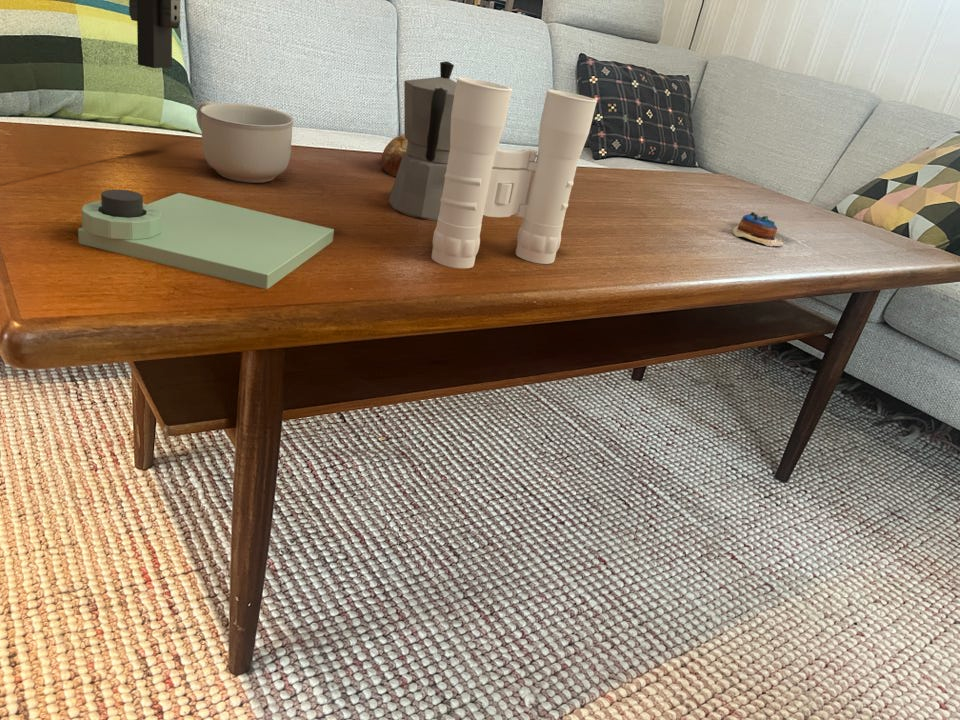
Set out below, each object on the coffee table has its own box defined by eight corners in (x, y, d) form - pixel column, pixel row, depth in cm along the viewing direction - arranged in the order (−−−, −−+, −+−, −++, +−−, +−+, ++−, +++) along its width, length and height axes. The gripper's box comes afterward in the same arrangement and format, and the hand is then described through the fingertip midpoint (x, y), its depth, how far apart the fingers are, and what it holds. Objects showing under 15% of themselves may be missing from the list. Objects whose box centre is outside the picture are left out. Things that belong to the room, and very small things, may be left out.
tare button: (93, 214, 62) (92, 194, 61) (116, 206, 65) (116, 187, 64) (128, 222, 62) (128, 202, 61) (150, 214, 64) (150, 195, 64)
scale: (67, 244, 62) (65, 210, 60) (173, 204, 77) (174, 176, 75) (264, 292, 60) (266, 258, 59) (332, 242, 75) (335, 214, 74)
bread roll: (417, 189, 118) (407, 139, 117) (467, 178, 112) (457, 125, 110) (375, 194, 110) (364, 140, 109) (426, 182, 104) (415, 125, 103)
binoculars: (537, 248, 88) (573, 92, 80) (567, 264, 84) (607, 102, 77) (417, 253, 77) (445, 75, 70) (446, 271, 74) (479, 85, 66)
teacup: (305, 187, 93) (311, 123, 89) (227, 190, 85) (230, 120, 81) (246, 158, 100) (249, 98, 97) (170, 159, 93) (170, 93, 89)
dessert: (724, 228, 115) (745, 198, 115) (728, 247, 121) (749, 218, 121) (770, 248, 111) (792, 217, 111) (772, 267, 117) (793, 237, 117)
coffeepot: (393, 191, 99) (413, 50, 92) (461, 204, 100) (486, 65, 92) (378, 221, 85) (400, 58, 78) (457, 235, 86) (486, 75, 78)
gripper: (259, -240, 56) (245, 79, 66) (106, -267, 58) (115, 50, 68) (207, -279, 50) (200, 83, 60) (35, -308, 51) (57, 51, 61)
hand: (155, 65), depth 64 cm, fingers closed
